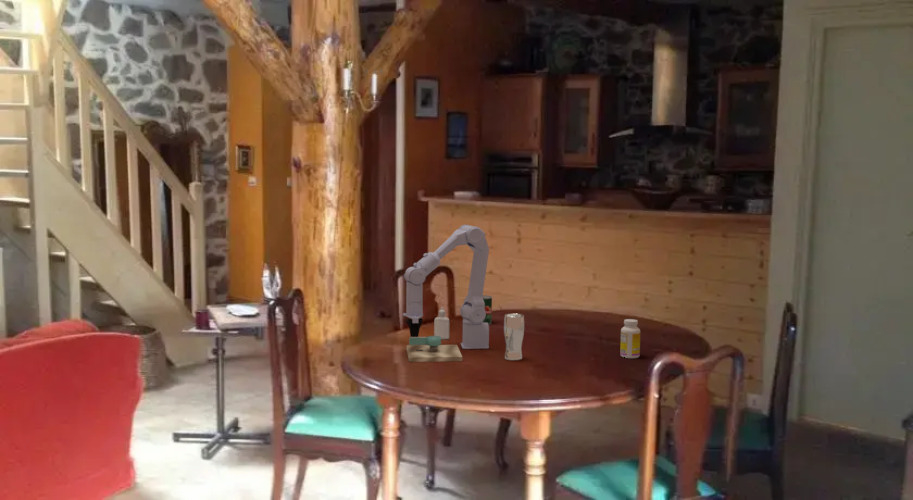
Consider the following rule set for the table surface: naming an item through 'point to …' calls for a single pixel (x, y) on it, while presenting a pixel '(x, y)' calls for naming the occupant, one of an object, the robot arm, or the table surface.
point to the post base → (433, 353)
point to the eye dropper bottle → (441, 325)
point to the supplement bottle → (630, 339)
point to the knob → (425, 340)
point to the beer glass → (513, 335)
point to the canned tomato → (488, 309)
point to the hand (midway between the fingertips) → (414, 339)
